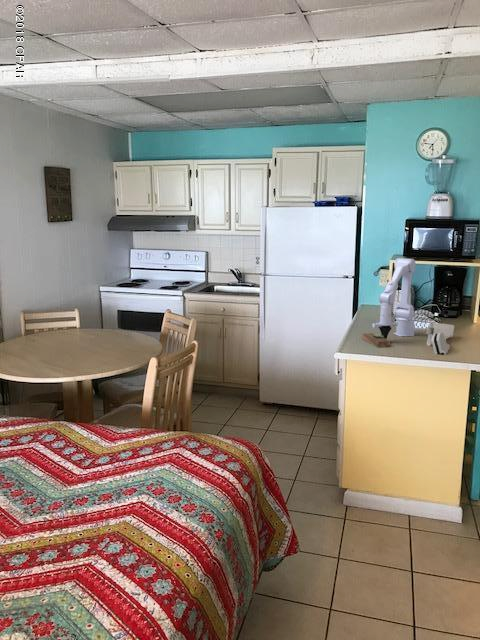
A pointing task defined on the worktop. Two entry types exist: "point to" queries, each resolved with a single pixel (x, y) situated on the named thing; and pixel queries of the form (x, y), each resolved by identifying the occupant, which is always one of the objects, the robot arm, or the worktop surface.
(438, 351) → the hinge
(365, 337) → the brown u-shaped block
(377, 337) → the sage green cube
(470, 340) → the worktop surface
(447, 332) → the shelf bracket
